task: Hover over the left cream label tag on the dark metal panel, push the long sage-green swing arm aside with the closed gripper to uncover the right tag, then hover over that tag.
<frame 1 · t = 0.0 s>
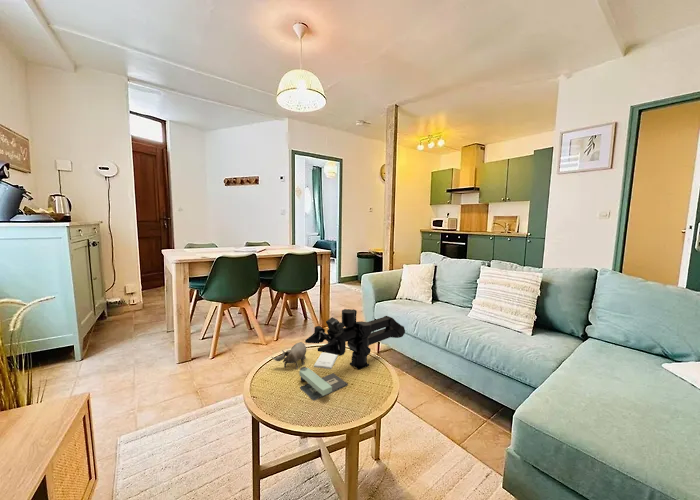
hand: (311, 345, 113), 17 cm above the table, tool horizontal, fingers open, 9 cm apart
swing arm: (313, 379, 112), point 4 cm above the table, hinge at 0.0°
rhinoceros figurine: (292, 366, 130), on the table
external hard drive: (326, 362, 134), on the table
label panel: (324, 386, 114), on the table
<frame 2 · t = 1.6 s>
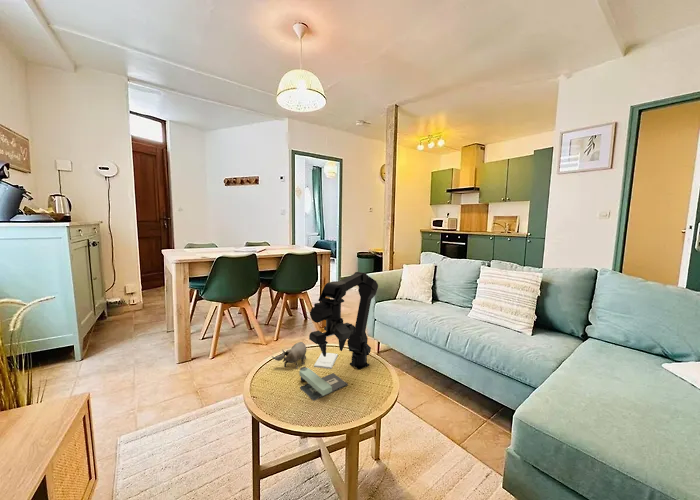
hand: (332, 353, 114), 13 cm above the table, tool pointing down, fingers open, 8 cm apart
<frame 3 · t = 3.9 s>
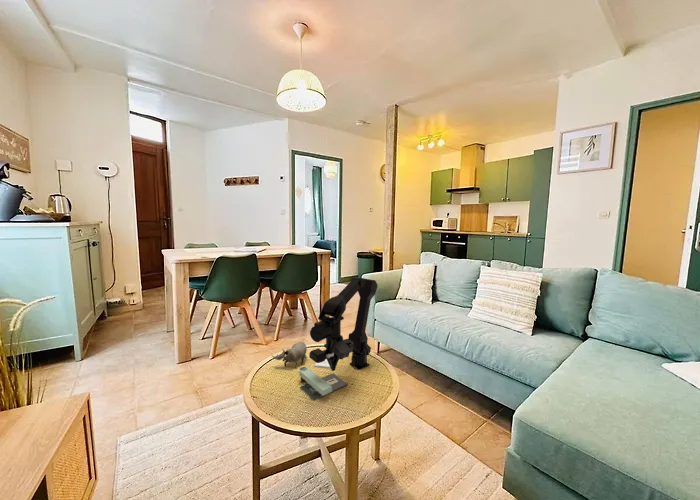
hand: (333, 370, 115), 6 cm above the table, tool pointing down, fingers closed
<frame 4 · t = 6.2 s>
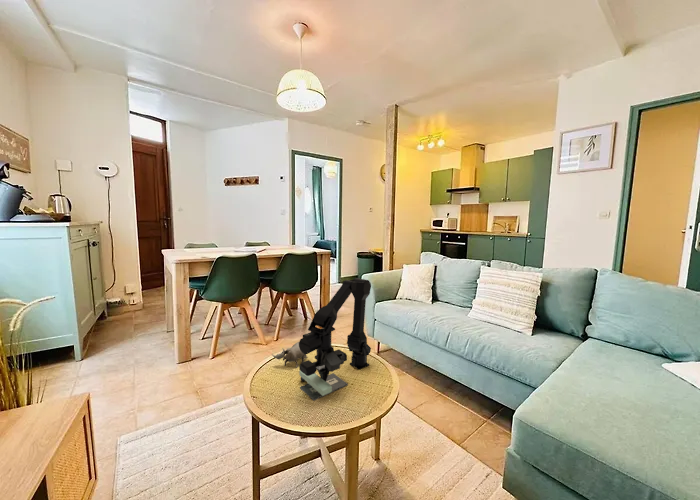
hand: (324, 382, 113), 3 cm above the table, tool pointing down, fingers closed
swing arm: (313, 379, 112), point 4 cm above the table, hinge at -0.3°, touching gripper
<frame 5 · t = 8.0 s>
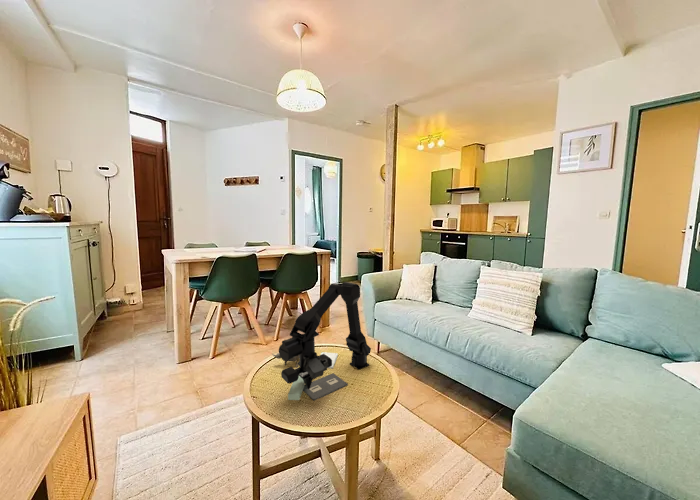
hand: (308, 388, 108), 3 cm above the table, tool pointing down, fingers closed
swing arm: (299, 382, 110), point 4 cm above the table, hinge at -42.1°, touching gripper
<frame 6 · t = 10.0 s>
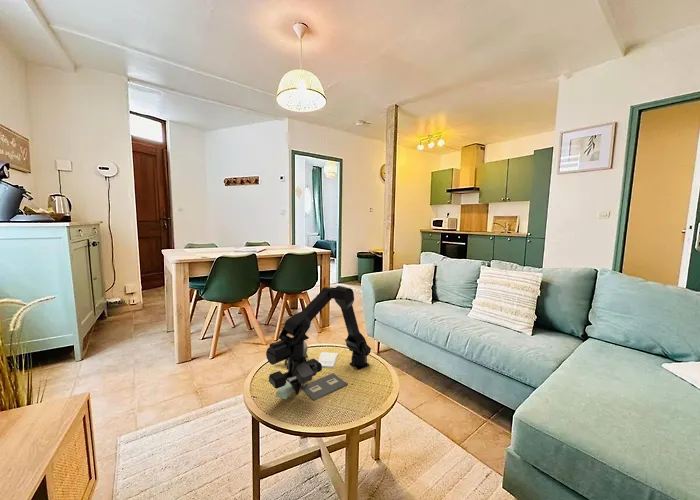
hand: (296, 394, 105), 2 cm above the table, tool pointing down, fingers closed
swing arm: (294, 381, 111), point 4 cm above the table, hinge at -57.8°, touching gripper
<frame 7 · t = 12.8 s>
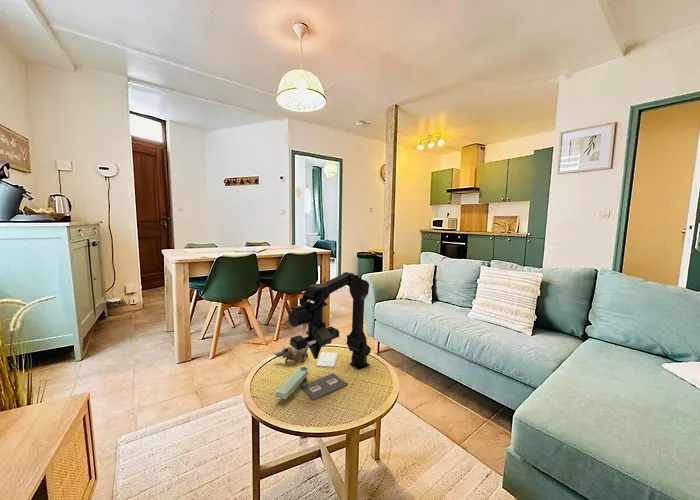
hand: (315, 358, 110), 13 cm above the table, tool pointing down, fingers closed
swing arm: (294, 381, 111), point 4 cm above the table, hinge at -58.4°
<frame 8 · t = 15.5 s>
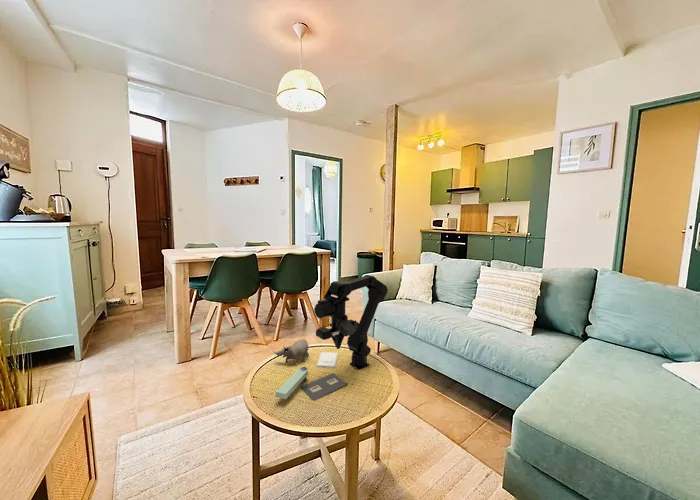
hand: (338, 348, 121), 12 cm above the table, tool pointing down, fingers closed
at the end: swing arm at -58° (first picture: +0°) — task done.
